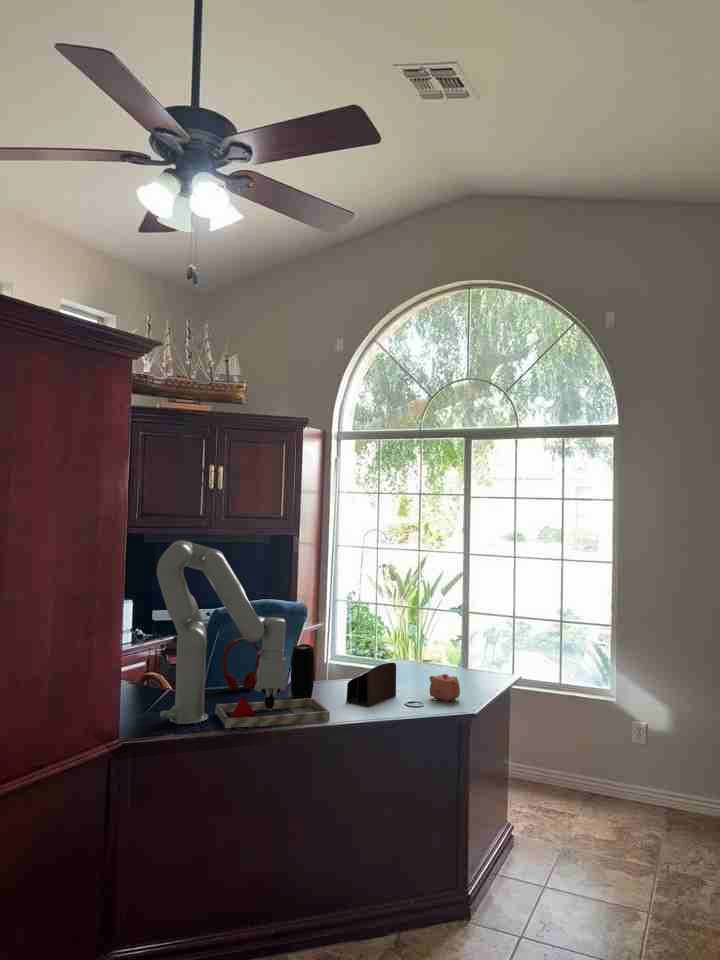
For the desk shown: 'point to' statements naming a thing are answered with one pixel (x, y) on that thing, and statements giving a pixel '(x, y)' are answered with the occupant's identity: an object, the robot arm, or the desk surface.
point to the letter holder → (373, 686)
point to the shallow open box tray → (299, 707)
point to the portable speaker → (302, 671)
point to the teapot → (444, 687)
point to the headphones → (251, 676)
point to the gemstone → (242, 710)
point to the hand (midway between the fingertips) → (269, 707)
